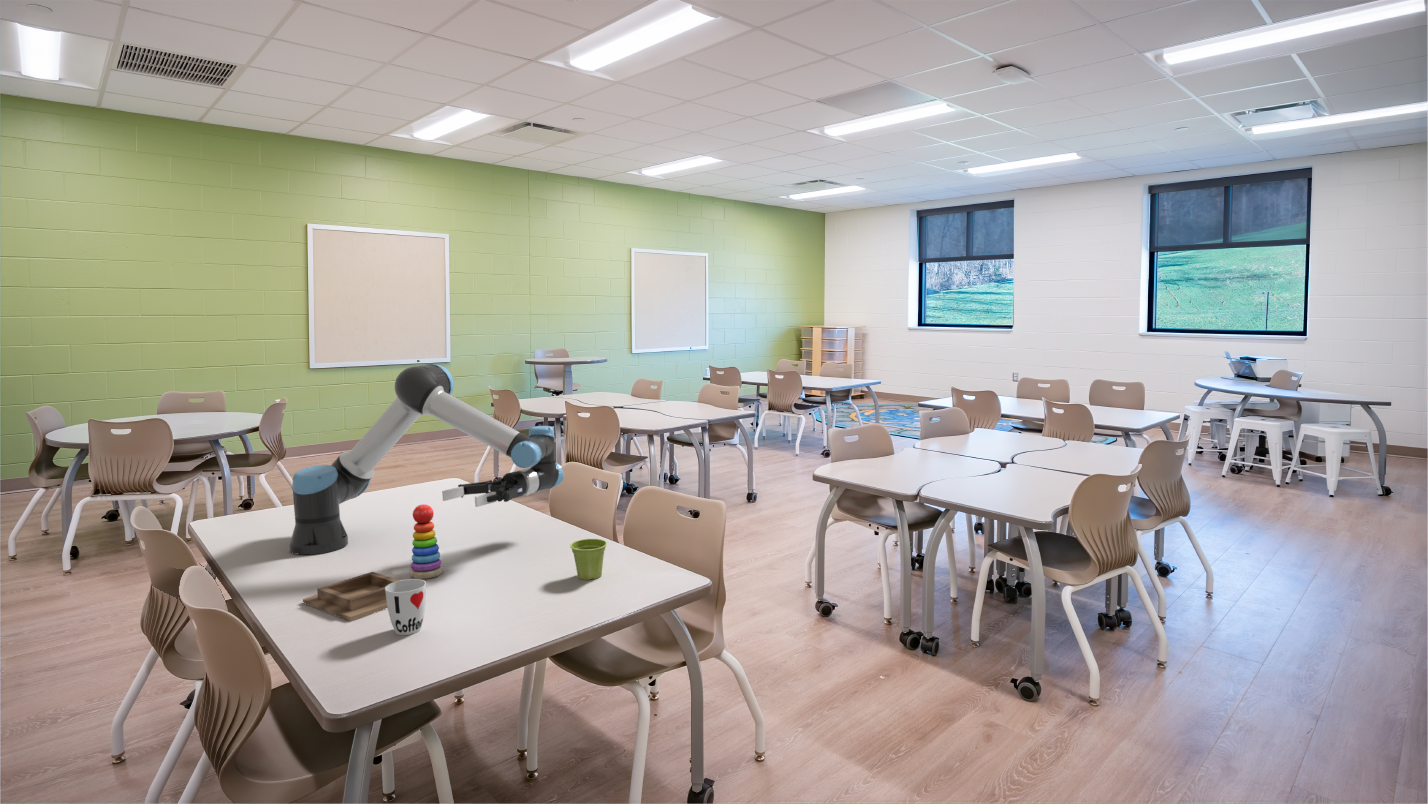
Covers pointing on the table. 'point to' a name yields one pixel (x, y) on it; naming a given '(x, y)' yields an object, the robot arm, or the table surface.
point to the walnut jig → (353, 596)
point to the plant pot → (589, 557)
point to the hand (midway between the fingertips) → (459, 498)
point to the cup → (406, 605)
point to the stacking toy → (425, 545)
